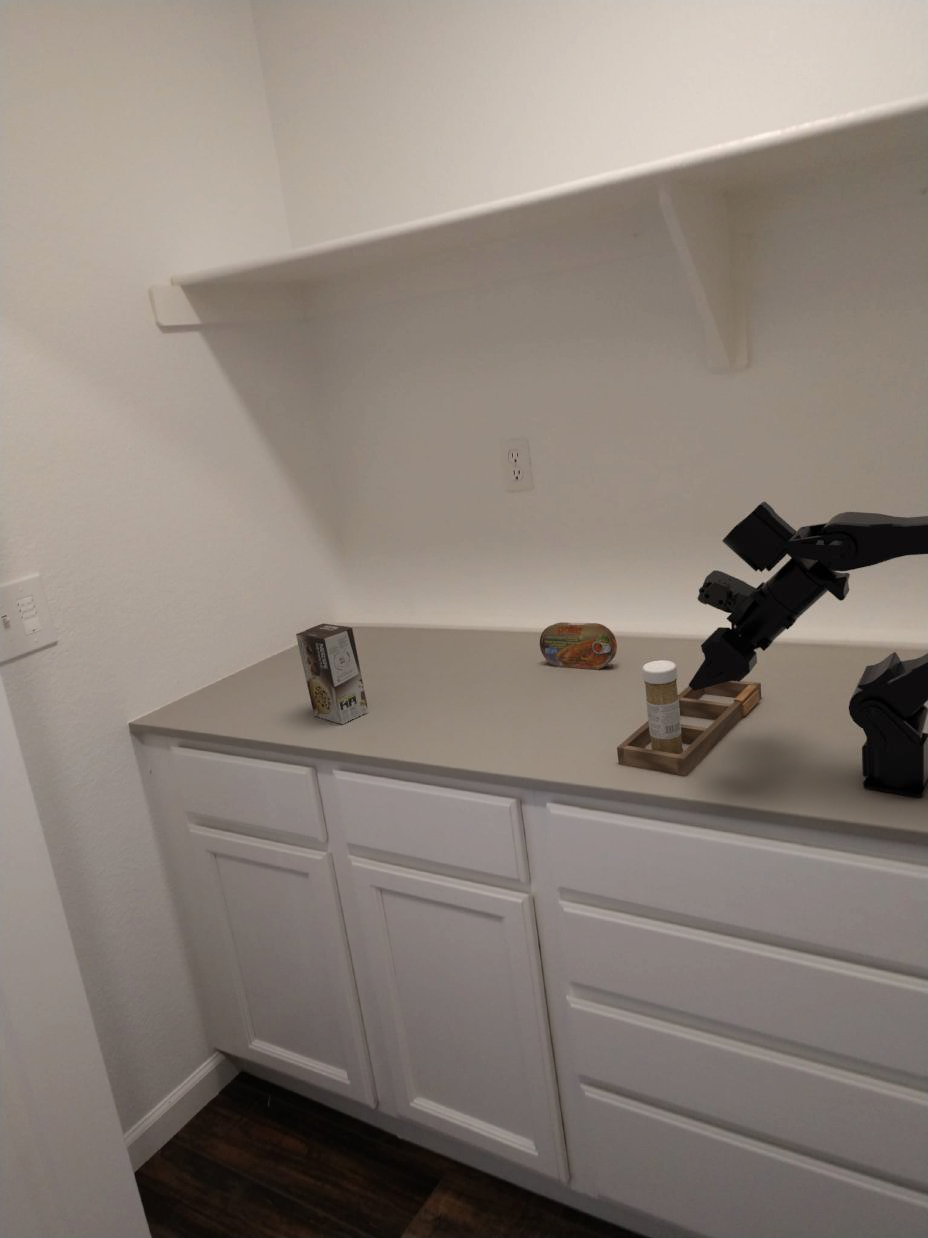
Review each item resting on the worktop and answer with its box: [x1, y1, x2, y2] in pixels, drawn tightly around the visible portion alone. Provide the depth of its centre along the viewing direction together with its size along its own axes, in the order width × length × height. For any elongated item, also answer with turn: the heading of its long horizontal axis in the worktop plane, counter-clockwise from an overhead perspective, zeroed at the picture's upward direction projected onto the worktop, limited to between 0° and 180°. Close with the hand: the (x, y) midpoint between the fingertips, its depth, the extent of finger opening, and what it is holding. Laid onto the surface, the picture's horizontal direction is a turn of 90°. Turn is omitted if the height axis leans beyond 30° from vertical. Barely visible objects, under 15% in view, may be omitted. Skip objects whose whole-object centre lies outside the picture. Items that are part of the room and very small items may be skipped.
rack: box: [616, 680, 762, 777], centre depth 126 cm, size 10×28×3 cm, turn 141°
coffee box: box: [295, 623, 369, 725], centre depth 152 cm, size 9×6×16 cm
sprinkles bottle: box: [642, 660, 685, 755], centre depth 118 cm, size 5×5×14 cm
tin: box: [539, 621, 618, 670], centre depth 158 cm, size 15×3×8 cm, turn 56°
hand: (702, 674), depth 113 cm, fingers open, 9 cm apart
